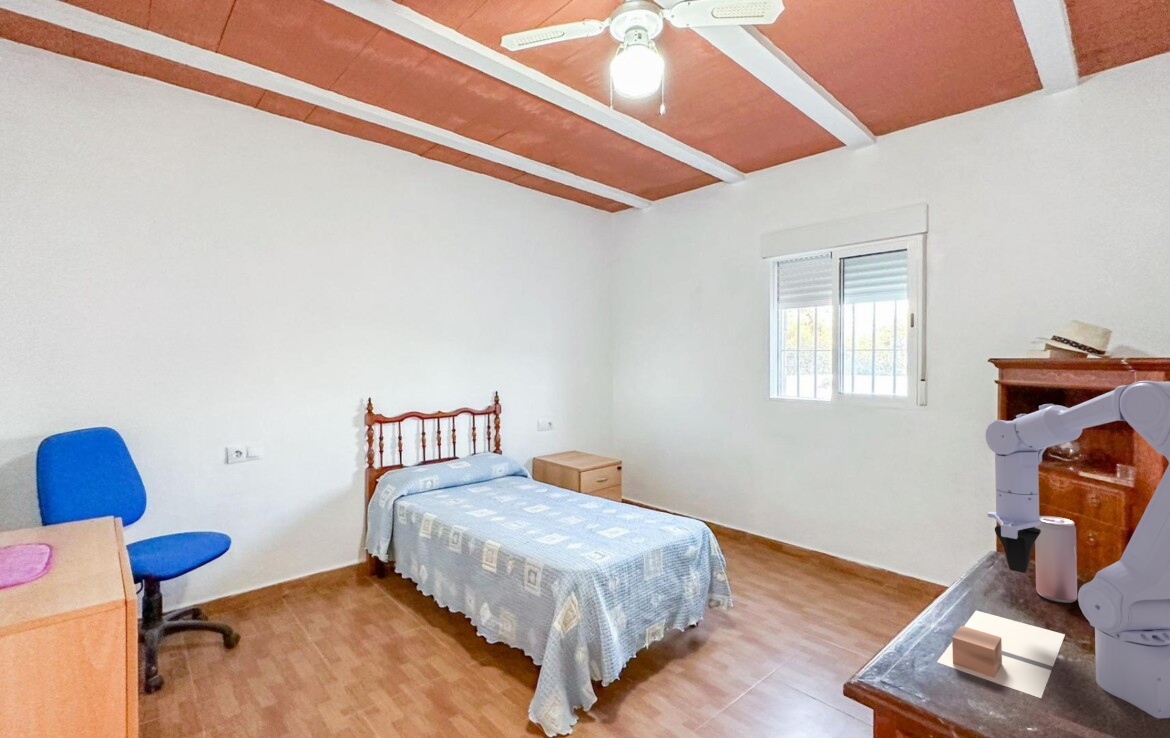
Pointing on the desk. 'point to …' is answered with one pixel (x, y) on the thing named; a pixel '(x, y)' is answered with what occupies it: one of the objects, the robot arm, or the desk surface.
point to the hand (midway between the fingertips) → (1018, 570)
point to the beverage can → (1056, 559)
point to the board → (1015, 653)
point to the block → (977, 651)
